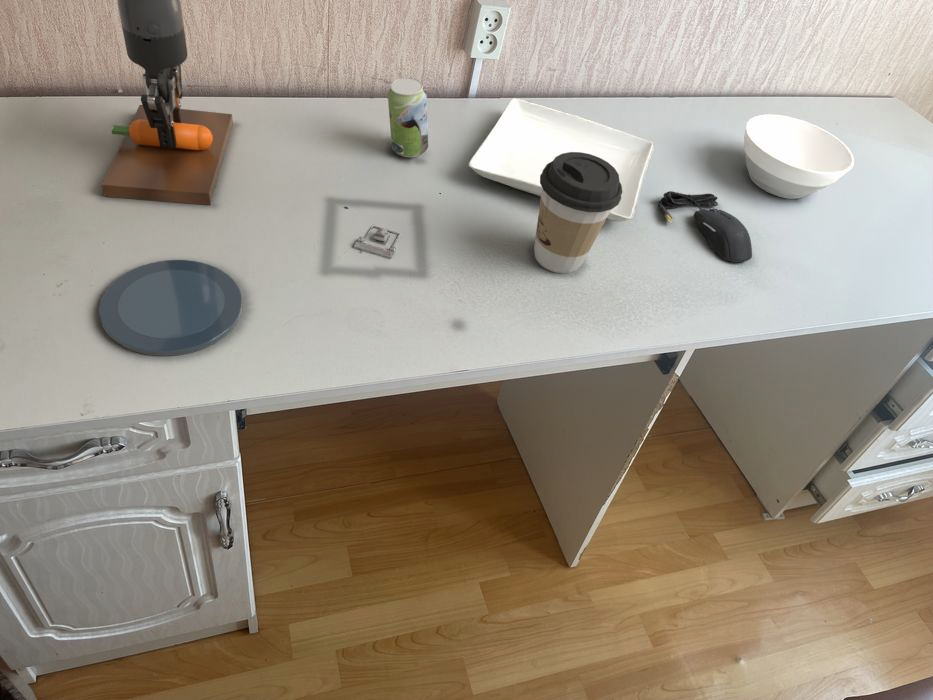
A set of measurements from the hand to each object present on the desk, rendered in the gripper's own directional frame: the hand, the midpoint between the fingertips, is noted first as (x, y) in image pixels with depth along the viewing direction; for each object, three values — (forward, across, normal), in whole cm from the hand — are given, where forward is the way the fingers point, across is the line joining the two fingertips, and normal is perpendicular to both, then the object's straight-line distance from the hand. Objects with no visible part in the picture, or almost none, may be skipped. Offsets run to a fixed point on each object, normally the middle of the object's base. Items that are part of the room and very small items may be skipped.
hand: (171, 139), depth 104 cm
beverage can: (+3, -8, +35) cm, 36 cm away
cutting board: (+3, 0, 0) cm, 3 cm away
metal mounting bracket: (+4, +20, +32) cm, 38 cm away
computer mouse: (+3, +7, +83) cm, 83 cm away
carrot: (+1, 0, -1) cm, 1 cm away
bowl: (+4, -10, +104) cm, 104 cm away
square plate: (+3, -7, +62) cm, 62 cm away
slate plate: (+3, +32, +6) cm, 33 cm away
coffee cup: (+3, +17, +57) cm, 59 cm away
